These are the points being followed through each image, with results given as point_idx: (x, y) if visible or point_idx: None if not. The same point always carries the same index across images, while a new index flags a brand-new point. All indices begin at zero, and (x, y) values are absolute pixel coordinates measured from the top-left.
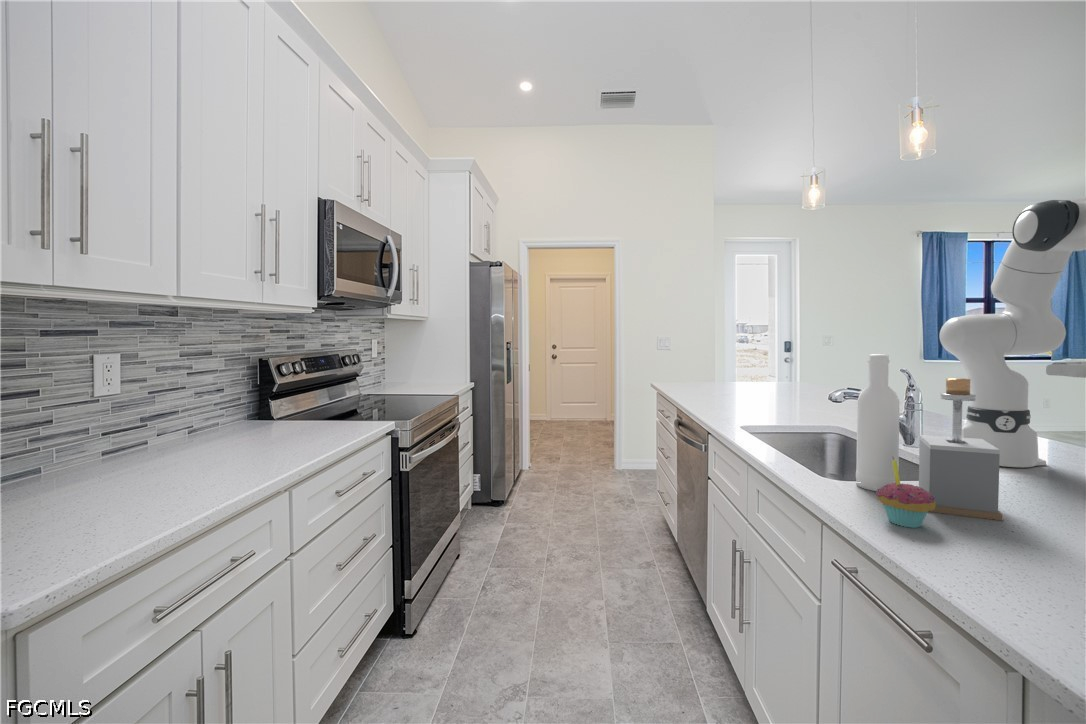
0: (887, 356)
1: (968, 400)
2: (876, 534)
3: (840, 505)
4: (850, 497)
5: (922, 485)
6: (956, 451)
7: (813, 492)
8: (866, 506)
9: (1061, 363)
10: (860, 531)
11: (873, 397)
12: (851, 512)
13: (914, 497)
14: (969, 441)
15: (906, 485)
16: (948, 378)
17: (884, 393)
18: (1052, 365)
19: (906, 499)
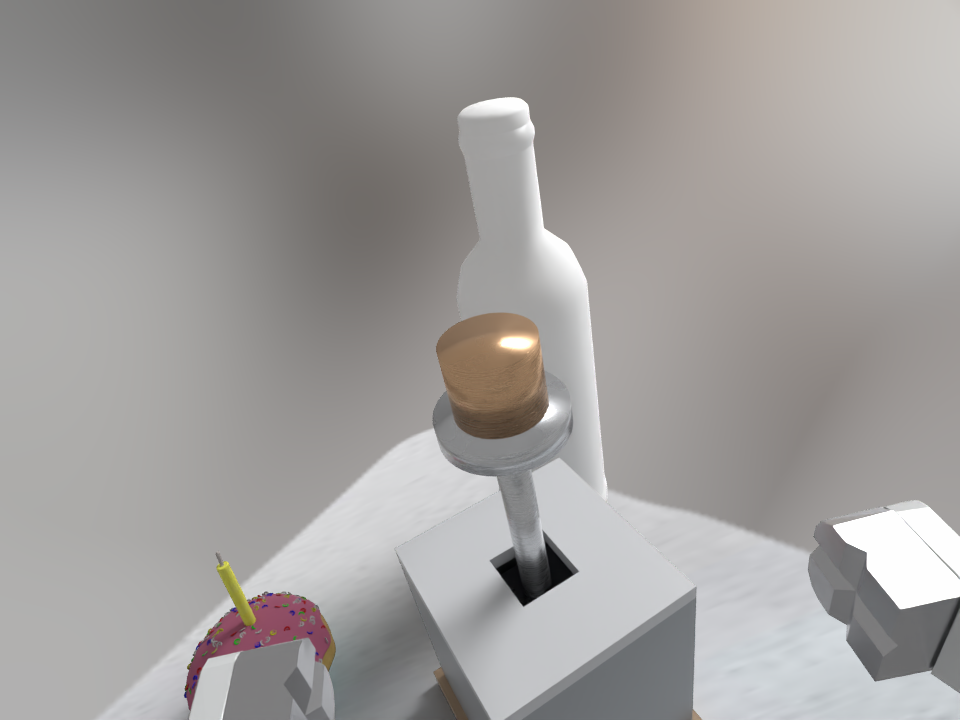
0: (491, 123)
1: (465, 468)
2: (148, 705)
3: (322, 555)
4: (405, 532)
5: None
6: (431, 618)
7: (379, 480)
8: (359, 585)
9: (868, 583)
10: (150, 674)
11: (459, 286)
12: (284, 593)
13: (194, 693)
14: (584, 585)
15: (244, 639)
16: (482, 318)
17: (476, 282)
18: (202, 696)
19: (189, 683)
